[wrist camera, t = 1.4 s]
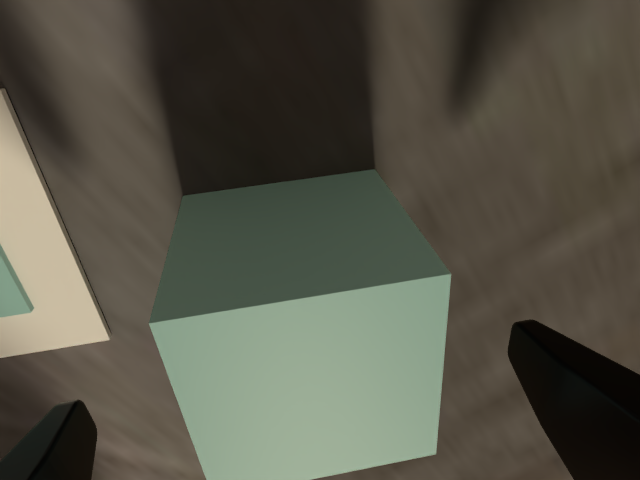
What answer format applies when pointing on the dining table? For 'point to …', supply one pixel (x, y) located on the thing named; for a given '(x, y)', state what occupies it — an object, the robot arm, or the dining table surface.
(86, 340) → the card
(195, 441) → the teal block
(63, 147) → the dining table surface
